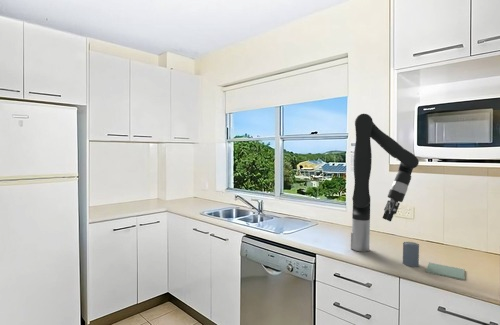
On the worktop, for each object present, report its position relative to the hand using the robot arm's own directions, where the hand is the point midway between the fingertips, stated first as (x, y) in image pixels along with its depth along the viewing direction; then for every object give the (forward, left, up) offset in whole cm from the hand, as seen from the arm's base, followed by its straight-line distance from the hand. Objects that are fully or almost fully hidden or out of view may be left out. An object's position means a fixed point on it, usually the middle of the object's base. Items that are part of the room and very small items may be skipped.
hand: (386, 219), depth 153 cm
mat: (+27, -6, -19) cm, 33 cm away
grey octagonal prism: (+12, -6, -19) cm, 23 cm away
